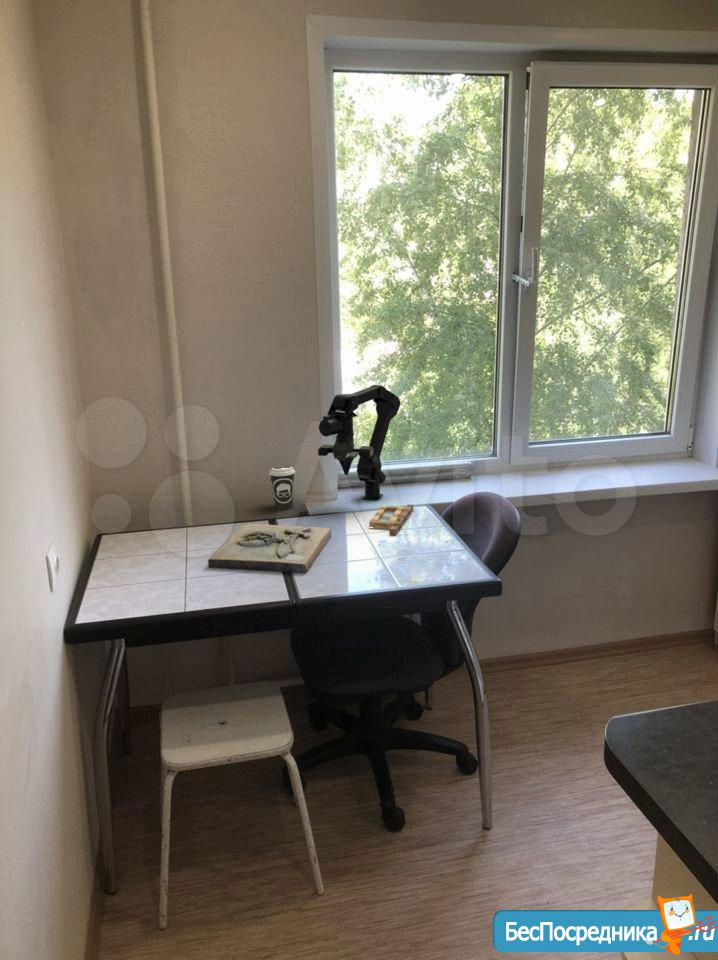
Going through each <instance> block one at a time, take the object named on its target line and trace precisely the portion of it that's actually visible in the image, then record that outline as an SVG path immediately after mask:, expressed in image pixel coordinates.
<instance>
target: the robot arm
mask: <svg viewBox="0 0 718 960" xmlns="http://www.w3.org/2000/svg"><path fill="white" fill-rule="evenodd" d="M369 401H373V402H374V403H375V404H376V405H375V411H376V416H377V417H376V421H375V425H374V428H373V431H372V434H371V438H370V441H369V445H362V446H360V448H355V442H354V441H355V439H354V436H355V432H354V418H356V417H357V416H358V415H357V413H355V412H354V411H356V410H358V408H359V406H360V405H362V404H365V403H368V402H369ZM400 407H401V400H400V398H399V396H398V395H396V394H395V393H393V392H392V391H389V390H388V389H387V388H386V387H385V386H384V385H380V384H379V385H378V384H372V385H371V386H368V387H366V388H363V389H361V390H357V391H355V392H352V393H339V394H336V395H334V398H333V400H332V402H331V404H330V407H329V409H328V412H327V415H323V416H322V420H321V421H320V422H319V425H318V430H319V433H320V434H321V435H322V436H323V437H331V436H335V441H334V444H322V445H321V446H320V447H318V449H317V456H320V457H327V456H328V455H329V454H332V455H333V459H336V460H337V461H338V462H339V463H340V467H341V468H342V471H343V474H344V475H345V476H348V475H349V472H350V469H351V466H352V463H353V462H354V460H355V459H356V458H357V457H358V456H359V458H358V461H357V462H358V463H357V465H356V474H357V477H358V479H359V480H358V481H359V482H364V495H363V496H361V500H370V501H372V500H373V501H374V500H375V501H380V499H382V497H383V496H384V494H383V493H381V484H382V485H383V484H384V483H385V482H386V478H387V476H386V474H385V473H384V472H383V471H382V462H381V453H382V451H383V449H384V448H383V446H384V445H385V440H386V437H387V434H388V430H389V427H390V423H391V421H392V420H393V419H394V417H396V416H397V414H398V412H399V410H400Z"/></svg>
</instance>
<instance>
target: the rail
mask: <svg viewBox="0 0 718 960" xmlns="http://www.w3.org/2000/svg"><path fill="white" fill-rule="evenodd" d="M412 511H414V504H407V505H406V506H405V507H404V510H403V512H402V513H401V514H400V516H399V517H398V518H397V520H396V521H395V522H394V524H393V525H392V526H391V528H390V529H388V531H389V532H388V533H389V534H388V535H389V536H396V535H397V534H398V533H399V531H400V530H401V529H402V527H403V526H404V525H405V523H406V522H407V520H408V519H409V517H410V516H409V515H412V513H413V512H412ZM411 512H412V513H411ZM407 518H408V519H407ZM405 521H406V522H405ZM402 525H403V526H402Z"/></svg>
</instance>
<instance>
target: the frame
mask: <svg viewBox="0 0 718 960" xmlns="http://www.w3.org/2000/svg"><path fill="white" fill-rule="evenodd" d="M404 509H405V506H395V505H393V506H392V505H381V506H380V507H379V508H378V509H377V511H376V513H375V514H374V515H373V516H372V518H371V520H369V522H368V527H373V528H372V529H374V528H382V529H381V530H389V529H390V528H391V526H392V525H393V524H394V522H395V521H396V520H397V518H398V517H399V516H400V514H401V513H402V512H403V510H404Z"/></svg>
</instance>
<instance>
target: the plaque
mask: <svg viewBox="0 0 718 960" xmlns="http://www.w3.org/2000/svg"><path fill="white" fill-rule="evenodd" d="M331 538H332V530H331V528H329V527H318V526H317V527H315V526H302V525H301V526H299V525H297V526H296V525H280V524H278V525H276V524H275V525H274V524H260V523H251V524H250V523H248V524H247V523H246V524H245V523H244V524H242V525H241V526H240V527H238V529H236V531H234V533H232V534H231V536H230V537H228V539H227V540H226V541H225V542H224V543H223V544H222V545H221V546H220V547H219V548H218V549H217V550H216V551H215V552H214V553H213V554H211V556H210V557H209V558H208V559H207V563H208V564H207V565H208V566H207V568H208V569H226V570H241V571H261V572H262V571H264V572H276V573H277V572H281V573H296V574H297V573H299V574H308V572H309V570H310V569H312V566H313V565H314V563H315V562H316V560H317V558H318V557H319V556H320V553H322V551H323V550H324V548H325V547H326V545H328V542H329V541H330V540H331Z"/></svg>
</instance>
